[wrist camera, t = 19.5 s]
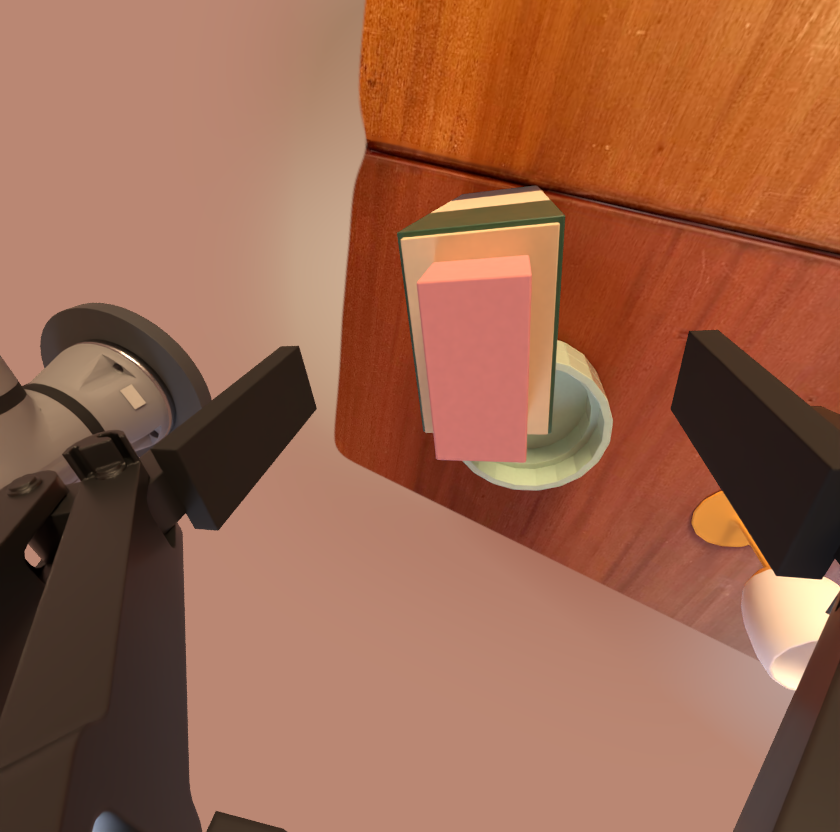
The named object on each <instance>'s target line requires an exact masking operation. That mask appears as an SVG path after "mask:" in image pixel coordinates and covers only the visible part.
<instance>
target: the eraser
mask: <svg viewBox="0 0 840 832" xmlns="http://www.w3.org/2000/svg"><path fill="white" fill-rule="evenodd" d="M417 292H418V301H419V310H420V319H421V328H422V337H423V345H424V354H425V363H426V372H427V381H428V390H429V399H430V407H431V416H432V425H433V434H434V443H435V452H436V458H437V459H438V460H459V461H489V462H518V463H525V462H526V455H527V423H528V390H529V357H530V324H531V292H532V273H531V266H530V259H529V256H528V255H522V256H509V257H496V258H484V259H471V260H458V261H446V262H434V263H432V265H431V266H430V267H429V268H428V269H427V271H426V272H425V273H424V274H423V276H422V277H421V278H420V279H419V280H418V282H417Z"/></svg>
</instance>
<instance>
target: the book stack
mask: <svg viewBox="0 0 840 832" xmlns="http://www.w3.org/2000/svg"><path fill="white" fill-rule="evenodd" d="M557 222H558V223H559V224H560V230H559V248H558V265H557V282H556V300H555V317H554V334H553V352H552V369H551V387H550V404H549V421H548V433H551V432H552V418H553V402H554V386H555V370H556V355H557V339H558V323H559V307H560V291H561V276H562V260H563V244H564V228H565V215H564V214H563V213H562V212H561V211H560V210H559V209H558V208H557V207H556V205H555V204H554V203H553V202H552V201H551V200H550V199H549V198H548V197H547V196H546V195H545V194H544V193H543V192H542V191H541V189H540V188H539V187H538V186H537V185H536V186H527V187H519V188H511V189H502V190H494V191H486V192H477V193H469V194H462V195H460V196H459V197H457V198H455V199H454V200H452V201H450V202H449V203H447V204H445V205H443V206H442V207H440V208H438V209H437V210H435V211H433V212H432V213H430V214H428V215H426V216H425V217H423V218H421V219H420V220H418V221H416V222H415V223H413V224H411V225H409V226H408V227H406V228H404V229H403V230H401V231H399V232H398V233H397V236H398V244H399V251H400V259H401V266H402V274H403V281H404V289H405V297H406V304H407V312H408V319H409V327H410V334H411V342H412V349H413V357H414V365H415V372H416V380H417V387H418V395H419V402H420V410H421V417H422V425H423V431H424V432H425V426H424V418H423V411H422V403H421V395H420V387H419V380H418V372H417V364H416V357H415V349H414V341H413V333H412V326H411V318H410V310H409V303H408V295H407V287H406V279H405V272H404V264H403V256H402V248H401V241H400V240H401V239H402V238H405V237H415V236H426V235H436V234H446V233H456V232H466V231H476V230H486V229H496V228H506V227H516V226H526V225H537V224H547V223H557Z"/></svg>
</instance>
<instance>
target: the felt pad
mask: <svg viewBox="0 0 840 832" xmlns="http://www.w3.org/2000/svg"><path fill="white" fill-rule="evenodd" d="M559 230H560V224H559V223H558V222H557V223H547V224H537V225H526V226H516V227H506V228H496V229H486V230H476V231H466V232H456V233H446V234H436V235H426V236H415V237H405V238H402V239H401V240H400V241H401V248H402V256H403V264H404V272H405V279H406V287H407V295H408V303H409V310H410V318H411V326H412V333H413V341H414V349H415V357H416V364H417V372H418V380H419V387H420V395H421V403H422V411H423V418H424V426H425V432H426V433H433V425H432V416H431V407H430V399H429V390H428V381H427V372H426V363H425V354H424V345H423V337H422V328H421V319H420V310H419V301H418V292H417V282H418V280H419V279H420V278H421V277H422V276H423V274H424V273H425V272H426V271H427V269H428V268H429V267H430V266H431V265H432V263H434V262H446V261H458V260H471V259H484V258H496V257H509V256H522V255H528V256H529V259H530V266H531V273H532V292H531V324H530V357H529V390H528V423H527V434H536V435H547V434H548V421H549V404H550V387H551V369H552V352H553V334H554V317H555V300H556V282H557V265H558V248H559Z"/></svg>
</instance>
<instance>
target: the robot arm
mask: <svg viewBox="0 0 840 832" xmlns="http://www.w3.org/2000/svg"><path fill="white" fill-rule="evenodd" d="M315 410H316V404H315V401H314V397H313V394H312V391H311V387H310V383H309V380H308V376H307V373H306V369H305V366H304V362H303V359H302V355H301V352H300V348H299V346H282V347H280V348H278V349H277V350H276V351H274V352H273V353H272V354H271V355H269V356H268V357H267V358H265V359H264V360H263V361H262V362H261V363H259V364H258V365H257V366H255V367H254V368H253V369H251V370H250V371H249V372H248V373H247V374H245V375H244V376H242V377H241V378H240V379H239V380H238V381H236V382H235V383H234V384H232V385H231V386H230V387H229V388H227V389H226V390H225V391H223V392H222V393H221V394H220V395H218V396H217V397H216V398H215V399H213V400H212V401H211V402H209V403H208V404H207V405H205V406H204V407H203V408H202V409H200V410H199V411H198V412H197V413H195V414H194V415H193V416H191V417H190V418H189V419H188V420H186V421H185V422H184V423H182V424H181V425H180V426H179V427H177V428H176V429H175V430H174V431H172V430H173V428H174V426H175V423H176V407H175V403H174V400H173V398H172V395H171V393H170V391H169V389H168V388H167V386H166V384H165V383H164V381H163V380H162V379H161V377H160V376H159V375H158V374H157V372H156V371H155V370H154V369H153V368H152V367H151V366H150V365H149V364H148V363H147V362H145V361H144V360H143V359H142V358H140V357H139V356H138V355H136V354H135V353H133V352H132V351H130V350H128V349H127V348H125V347H123V346H121V345H118V344H116V343H113V342H110V341H106V340H100V339H89V340H85V341H82V342H79V343H77V344H75V345H72V346H70V347H69V348H67V349H66V350H64V351H62V352H61V353H60V354H59V355H58V356H57V357H56V358H55V359H54V360H53V361H52V362H51V363H50V364H49V365H48V366H47V367H46V368H45V369H44V370H43V371H42V372H41V373H40V374H39V375H38V376H36V378H35V379H33V380H32V381H31V382H30V383H28V384H26V385H24V386H21V384H20V383H19V382H18V380H17V379H16V377H15V376H14V374H13V373H12V371H11V370H10V369H9V367H8V366H7V364H6V363H5V361H4V360H3V359H2V357H1V356H0V832H202V828H201V824H200V820H199V817H198V814H197V812H196V809H195V806H194V804H193V801H192V797H191V792H190V784H189V757H188V756H189V754H188V719H187V718H188V717H187V685H186V683H187V681H186V646H185V645H186V644H185V607H184V574H183V573H184V571H183V536H182V535H183V534H182V531H181V528H180V527H179V525H178V523H177V522H178V521H179V520H180V519H181V517H182V516H183V515H184V514H185V513H186V514H187V516H188V517H189V519H190V521H191V523H192V524H193V526H194V528H195V529H206V530H219V529H220V528H221V527H222V525H223V524H224V523H225V522H226V520H227V519H228V518H229V517H230V515H231V514H232V513H233V512H234V510H235V509H236V508H237V507H238V506H239V504H240V503H241V501H243V499H244V498H245V497H246V496H247V494H248V493H249V492H250V490H251V489H252V488H253V487H254V486H255V484H256V483H257V482H258V481H259V479H260V478H261V477H262V476H263V475H264V473H265V472H266V471H267V469H268V468H269V467H270V465H272V463H273V462H274V461H275V459H276V458H277V457H278V456H279V455H280V453H281V452H282V451H283V450H284V449H285V447H286V446H287V445H288V444H289V442H290V441H291V440H292V439H293V437H294V436H295V435H296V434H297V432H298V431H299V430H300V429H301V428H302V426H303V425H304V424H305V422H306V421H307V420H308V419H309V418H310V416H311V415H312V414H313V413H314V411H315ZM671 410H672V412H673V414H674V415H675V417H676V418H677V420H678V422H679V423H680V425H681V426H682V428H683V429H684V431H685V433H686V434H687V436H688V437H689V439H690V441H691V442H692V444H693V445H694V447H695V448H696V450H697V452H698V453H699V455H700V456H701V458H702V460H703V461H704V463H705V464H706V466H707V467H708V469H709V471H710V472H711V474H712V475H713V477H714V479H715V480H716V482H717V483H718V485H719V486H720V488H721V490H722V491H723V493H724V494H725V496H726V497H727V499H728V501H729V502H730V504H731V505H732V507H733V509H734V510H735V512H736V513H737V515H738V516H739V518H740V520H741V521H742V523H743V524H744V526H745V528H746V529H747V531H748V532H749V534H750V535H751V537H752V539H753V540H754V542H755V543H756V545H757V547H758V548H759V550H760V551H761V553H762V554H763V556H764V558H765V559H766V561H767V562H768V564H769V566H770V567H771V569H772V570H773V572H774V573H775V575H776V576H781V577H793V578H805V579H818V580H822V579H823V577H824V575H825V574H826V572H827V570H828V569H829V567H830V566H831V564H832V562H833V561H834V559H836V560H837V562H838V563H839V564H840V414H837V413H835V412H833V411H831V410H828V409H826V408H824V407H822V406H810V405H808V404H807V403H806V402H805V401H804V400H802V399H801V398H800V397H799V396H798V395H796V394H795V393H794V392H793V391H791V390H790V389H789V388H788V387H787V386H785V385H784V384H783V383H782V382H781V381H779V380H778V379H777V378H776V377H774V376H773V375H772V374H771V373H770V372H768V371H767V370H766V369H765V368H764V367H762V366H761V365H760V364H759V363H757V362H756V361H755V360H754V359H753V358H751V357H750V356H749V355H748V354H747V353H745V352H744V351H743V350H742V349H740V348H739V347H738V346H737V345H736V344H734V343H733V342H732V341H731V340H730V339H728V338H727V337H726V336H725V335H723V334H722V333H721V332H720V331H719V330H703V331H689V334H688V338H687V342H686V346H685V351H684V355H683V359H682V363H681V368H680V372H679V376H678V380H677V384H676V389H675V393H674V397H673V401H672V406H671ZM171 431H172V432H171ZM156 443H157V444H156ZM154 444H156V445H154ZM152 445H154V446H153V447H152V448H151V449H150V450H149V451H147V452H146V453H145V454H143V455H142V456H141V457H140V458H139V457H138V455H137V453H136V452H135V451H138V450H141V449H144V448H147V447H150V446H152ZM27 544H29V545H30V547H31V548H32V549H33V550H34V551H35V552H36V553H37V554H38V556H39V557H40V558H41V561H40V562H39V563H38V565H37V566H36V567H33V566H32V565H30V564H29V563H28V561H27V560H26V559H25V553H24V551H25V549H26V547H27ZM825 613H827V614H829V617H828V619H827V621H826V624H825V626H824V628H823V630H822V633H821V635H820V637H819V639H818V642H817V644H816V646H815V648H814V651H813V653H812V655H811V657H810V660H809V662H808V664H807V666H806V669H805V671H804V673H803V675H802V678H801V680H800V682H799V684H798V687H797V689H796V691H795V693H794V696H793V698H792V700H791V702H790V705H789V707H788V709H787V711H786V714H785V716H784V718H783V720H782V723H781V725H780V727H779V729H778V732H777V734H776V736H775V738H774V741H773V743H772V745H771V747H770V750H769V752H768V754H767V756H766V758H765V761H764V763H763V765H762V767H761V770H760V772H759V774H758V777H757V779H756V781H755V783H754V785H753V788H752V790H751V792H750V794H749V797H748V799H747V801H746V803H745V806H744V808H743V810H742V812H741V815H740V817H739V819H738V821H737V824H736V826H735V828H734V830H733V832H840V591H839V592H838V594H837V595H836V597H835V598H834V600H833V601H832V603H831V604H830V606H829V607H828V609H827V610H826V612H825ZM207 832H287V831H285V830H284V829H282V828H278V827H274V826H270V825H267V824H263V823H259V822H256V821H252V820H248V819H244V818H241V817H237V816H233V815H229V814H225V813H222V812H218V811H216V812H215V814H214V816H213V819H212V821H211V823H210V825H209V827H208V829H207Z"/></svg>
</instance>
